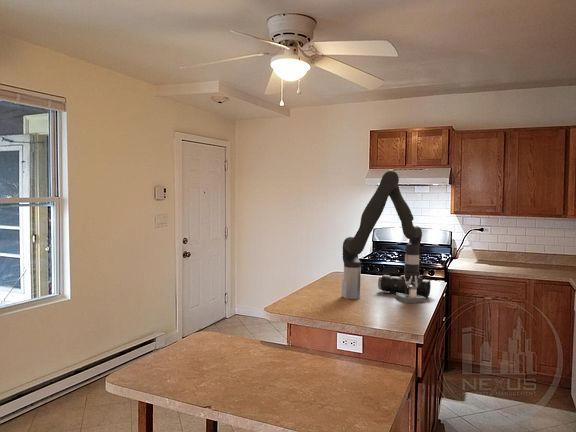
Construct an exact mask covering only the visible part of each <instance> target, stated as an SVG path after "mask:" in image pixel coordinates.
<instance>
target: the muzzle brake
mask: <svg viewBox="0 0 576 432" xmlns="http://www.w3.org/2000/svg"><path fill="white" fill-rule="evenodd" d="M377 280H378V281H377V287H378V289H379V290H380V291H383V292H387V293H388V292H389V293H390V294H393V295H396V294H406V293H405V287H404V286H402V284H401V281H400V276H396V275H395V276H392V275H390V274H382V275H379V276H378V279H377ZM404 280H406V278H405V279H404ZM417 280H418V278H417ZM431 284H432V283H431V281H430V279H423V280H422V283H421V286H418V287H417V293H416V294H418V295H421V296H424V297H426V299H427V298H428V297H429V296H430V294H431ZM410 285H413V283H412V282H411V284H410Z"/></svg>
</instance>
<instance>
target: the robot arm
mask: <svg viewBox="0 0 576 432" xmlns="http://www.w3.org/2000/svg"><path fill="white" fill-rule="evenodd" d="M399 181H400V177H399V175H398V173H397V172H396V171H395V170H388V171H386V172H385V173H384V174H383V175H382V176H381V179H380V182H379V184H378V187H377V189H376V191H375V192H374V194H373V195H372V197H371V198H370V199H369V201H368V203H367V204H366V206H365V208H364V210H363V212H362V214H361V217H360V221H359V222H360V223H359V227H358V230H357V231H356V233H355V235H354V236H348V237H346V238H344V240H343V242H342V262H343V279H342V280H341V297H342V298H344V299H346V300H359V299H360V298H361V276H362V275H361V274H362V273H361V271H362V262H361V260H360V259H359V255H360V254H362V253H363V251H364V249H365V247H366V244H367V241H368V240H369V238H370V235H371V233H372V231H373V230H374V228H375V226H376V224H377V222H378V221H379V220H380V217H381V216H382V214H383V212H384V209H385V206H386V204H387V202H388V199H389V198H390V199H391V201H392V204H393V207H394V208H395V211H396V214H397V215H398V219H399V220H400V222H401V229H402V233H403V235H404V237H405V238H406V239H407V240H409V241H408V243H406V245H405V254H404V255H405V256H404V274H403V275H399V277H400V281H401V284H402V286H404V287H405V293H406V294H407V295H409V285H410V284H411V282H412V283H413V286H416V287H418V286H421V283H422V280H424V275H422V274H420V273H419V271H420V246H421V241H422V237H423V231H422V228H421V227H420V226H418V225H414V224H413V223H414V222H413V221H414V215H413V212H412V211H411V209H410V207H409V205H408V203H407V202H406V200H405V199H404V197H403V194H402V193H401V190H400V186H399ZM405 278H406V280H404V279H405ZM417 279H418V280H417ZM416 293H417V292H416Z"/></svg>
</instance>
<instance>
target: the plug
mask: <svg viewBox="0 0 576 432" xmlns="http://www.w3.org/2000/svg"><path fill="white" fill-rule="evenodd" d="M416 292H417V287H416V286H413V285H409V295H407V296H408V297H416Z"/></svg>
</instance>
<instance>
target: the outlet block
mask: <svg viewBox="0 0 576 432" xmlns="http://www.w3.org/2000/svg"><path fill="white" fill-rule="evenodd" d="M395 296H396V297H395V299H396V300H397V301H400V302H403V303H405V304H414V303H416V302H418V303H426V302H427V298H426V297H424V296H421V295H418V294H416V297H408V296H407V294H402V293H396V294H395Z"/></svg>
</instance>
